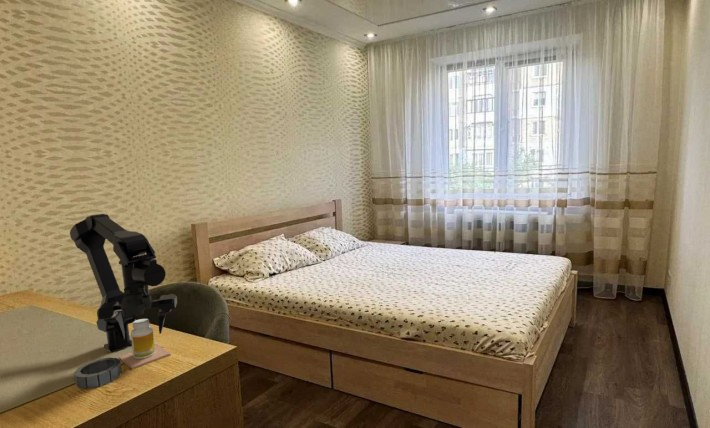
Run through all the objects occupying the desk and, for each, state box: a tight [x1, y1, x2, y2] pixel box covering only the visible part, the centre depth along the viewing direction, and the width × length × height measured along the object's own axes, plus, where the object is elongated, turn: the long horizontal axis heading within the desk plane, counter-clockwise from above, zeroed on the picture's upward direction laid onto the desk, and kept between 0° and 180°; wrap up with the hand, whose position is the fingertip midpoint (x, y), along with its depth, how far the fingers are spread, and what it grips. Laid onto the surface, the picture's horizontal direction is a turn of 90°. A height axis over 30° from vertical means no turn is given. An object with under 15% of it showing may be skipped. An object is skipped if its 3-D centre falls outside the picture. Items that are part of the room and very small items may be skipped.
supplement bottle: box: [130, 318, 155, 359], centre depth 113 cm, size 5×5×10 cm
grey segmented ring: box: [73, 357, 123, 390], centre depth 102 cm, size 10×10×3 cm
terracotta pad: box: [118, 343, 172, 370], centre depth 113 cm, size 10×10×1 cm
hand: (142, 336), depth 113 cm, fingers open, 9 cm apart
